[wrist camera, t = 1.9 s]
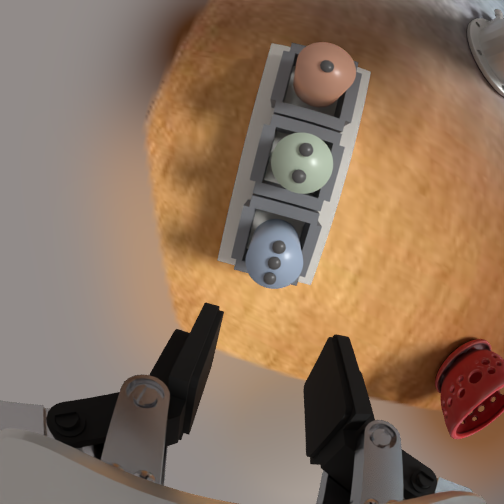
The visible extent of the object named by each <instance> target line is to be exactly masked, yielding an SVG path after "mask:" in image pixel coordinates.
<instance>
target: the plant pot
mask: <svg viewBox="0 0 504 504" xmlns="http://www.w3.org/2000/svg"><path fill="white" fill-rule="evenodd" d="M435 386H436V389H437V391H438V392H439V393H441V407H442V411H443V415H444V419H445V423H446V426H447V429H448V431H449V434H450V436H451V437H452V438H453V439H461V438H465V437H468V436H470V435H472V434H474V433H476V432H478V431H480V430H481V429H483V428H485V427H486V426H487V425H489V424H490V423H491V422H493V421H494V420H495V419H496V418H497V417H499V415H501V414H502V413H503V412H504V395H502V394H500V392H499V389H501V388H503V387H504V360H503V359H502V357H501V356H499V355H498V354H496V353H494V352H492V351H491V346H490V344H489V342H488V341H486V340H483V339H476V340H472V341H469V342H467V343H465V344H463V345H462V346H460V347H459V348H457V349H456V350H455V351H454V352H453V353H451V354H450V355H449V357H448V358H447V359H446V360H445V361H444V363H443V364H442V365H441V367H440V369H439V371H438V373H437V376H436V380H435ZM492 397H496V400H495V401H494V402H491V399H492ZM480 406H484V407H485V409H484V411H482V412H479V411H478V409H479V407H480ZM471 411H473V412H472V413H471V414H470V415H468V414H469V413H470V412H471ZM473 417H476V418H477V420H475V421H473V420H472V418H473ZM462 421H463V422H464V424H461V422H462Z"/></svg>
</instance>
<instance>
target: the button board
mask: <svg viewBox="0 0 504 504" xmlns="http://www.w3.org/2000/svg"><path fill="white" fill-rule="evenodd" d="M305 47H306V46H304V45H300V44H295V43H292V44H291V47H288V46H284V45H279V44H274V43H272V44H271V47H270V51H269V54H268V58H267V61H266V65H265V68H264V72H263V75H262V79H261V82H260V86H259V90H258V93H257V97H256V101H255V105H254V108H253V112H252V116H251V120H250V124H249V127H248V131H247V135H246V139H245V143H244V147H243V151H242V155H241V159H240V163H239V167H238V172H237V176H236V180H235V184H234V188H233V193H232V197H231V201H230V206H229V210H228V214H227V219H226V223H225V228H224V232H223V237H222V242H221V246H220V251H219V256H218V260H217V261H221V262H225V263H229V264H232V265H235V267H234V270H238V271H242V272H246V273H248V271H247V268H246V255H247V252H248V249H249V246H250V243H251V240H252V237H253V234H254V232H255V230H256V228H257V227H258V226H259V225H260V224H261V223H263V222H265V221H267V220H270V219H281V220H284V221H287V222H288V223H290V224H291V225H292V226H293V227H294V228H295V230H296V232H297V234H298V237H299V242H300V246H301V251H302V255H303V268H302V271H301V273H300V275H299V277H298V278H297V279H296V280H295V281H294V282H293V283H291V284H292V285H296V286H297V283H298V282H301V283H305V284H309V285H311V283H312V280H313V277H314V274H315V272H316V269H317V266H318V263H319V260H320V257H321V254H322V252H323V249H324V246H325V243H326V240H327V237H328V234H329V230H330V227H331V224H332V221H333V218H334V215H335V212H336V208H337V205H338V202H339V198H340V195H341V192H342V188H343V185H344V181H345V178H346V174H347V171H348V167H349V163H350V160H351V156H352V152H353V148H354V145H355V141H356V137H357V133H358V129H359V125H360V120H361V116H362V112H363V107H364V103H365V98H366V94H367V89H368V84H369V79H370V74H371V72H370V71H367V70H365V69H362V68H359V67H358V62H356V61H354V64H355V67H356V77H355V80H354V82H353V84H352V85H351V86H350V87H349V88H348V89H347V90H346V91H345V92H344V93H343V94H342V95H341V96H340V97H339V98H338V99H337V100H336V101H335V102H334V103H333V104H331V105H329V106H326V107H313V106H310V105H308V104H306V103H304V102H303V101H302V100H300V99H299V97H298V96H297V95H296V93H295V91H294V87H293V80H294V74H295V68H296V62H297V58H298V55H299V53H300V52H301V51H302V49H304V48H305ZM293 133H309V134H312V135H315V136H317V137H318V138H320V139H321V140H322V141H323V142H324V143H325V144H326V145H327V146H328V148H329V149H330V152H331V154H332V158H333V170H332V174H331V176H330V178H329V180H328V181H327V183H326V184H325V185H324V186H323V187H322V188H320V189H319V190H317V191H315V192H312V193H307V194H300V193H294V192H291V191H289V190H287V189H286V188H284V187H283V186H282V185H281V184H280V183H279V182H278V181H277V180H276V178H275V176H274V174H273V171H272V167H271V157H272V153H273V150H274V148H275V147H276V145H277V144H278V143H279V142H280V141H281V140H282V139H283V138H284V137H286V136H288V135H290V134H293Z"/></svg>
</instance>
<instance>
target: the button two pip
mask: <svg viewBox="0 0 504 504" xmlns="http://www.w3.org/2000/svg"><path fill="white" fill-rule="evenodd" d="M271 167H272V171H273V174H274V176H275V178H276V180H277V181H278V182H279V183H280V184H281V185H282V186H283V187H284V188H286V189H287V190H289V191H291V192H294V193H300V194H307V193H312V192H315V191H317V190H319V189H320V188H322V187H323V186H324V185H325V184H326V183H327V181H328V180H329V178H330V176H331V174H332V170H333V158H332V154H331V152H330V149H329V148H328V146H327V145H326V144H325V143H324V142H323V141H322V140H321V139H320V138H318V137H317V136H315V135H312V134H309V133H293V134H290V135H288V136H286V137H284V138H283V139H282V140H281V141H280V142H279V143H278V144H277V145H276V147H275V148H274V150H273V153H272V157H271Z"/></svg>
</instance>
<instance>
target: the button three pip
mask: <svg viewBox="0 0 504 504" xmlns="http://www.w3.org/2000/svg"><path fill="white" fill-rule="evenodd" d="M246 268H247V271H248V273H249V275H250V277H251V278H252V279H253V280H254V281H255V282H256V283H258V284H259V285H261V286H263V287H266V288H272V289H277V288H283V287H286V286H288V285H290V284H291V283H293V282H294V281H295V280H296V279H297V278H298V277H299V275H300V273H301V271H302V268H303V255H302V251H301V246H300V242H299V237H298V234H297V232H296V230H295V228H294V227H293V226H292V225H291V224H290V223H288V222H287V221H284V220H281V219H270V220H267V221H265V222H263V223H261V224H260V225H259V226H258V227H257V228H256V230H255V232H254V234H253V237H252V240H251V243H250V246H249V249H248V252H247V255H246Z"/></svg>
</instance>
